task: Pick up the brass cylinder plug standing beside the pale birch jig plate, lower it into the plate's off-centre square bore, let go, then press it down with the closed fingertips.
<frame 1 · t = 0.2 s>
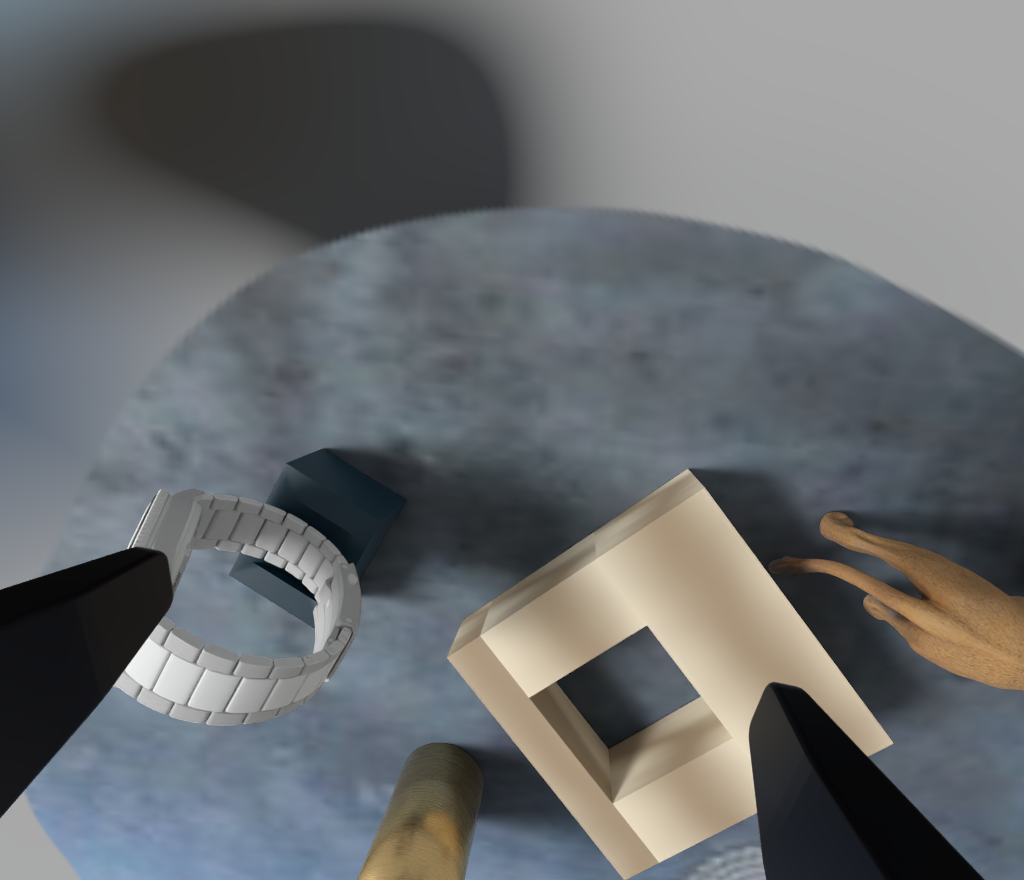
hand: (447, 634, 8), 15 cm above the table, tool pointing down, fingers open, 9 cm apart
watch: (336, 522, 25), on the table
brass cylinder plug: (443, 779, 26), on the table
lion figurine: (966, 569, 22), on the table
jig: (651, 655, 24), on the table
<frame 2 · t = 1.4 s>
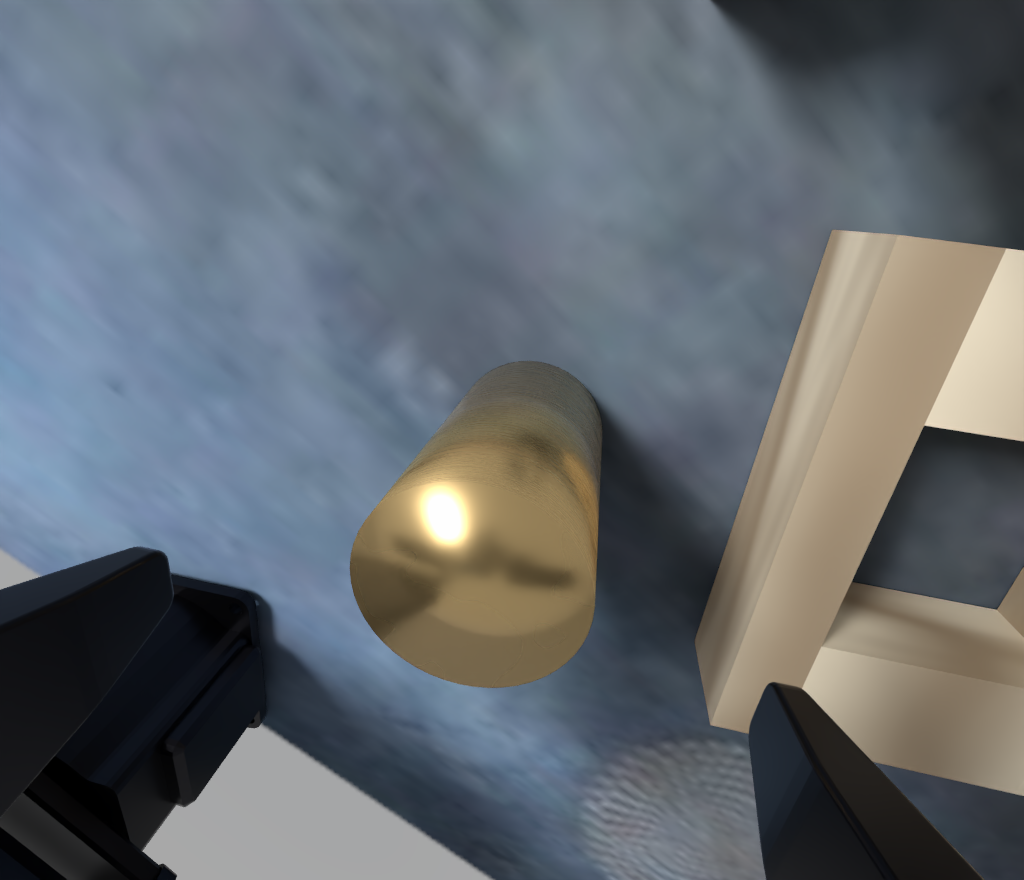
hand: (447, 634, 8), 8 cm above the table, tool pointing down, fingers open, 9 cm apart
brass cylinder plug: (529, 431, 15), on the table
jig: (994, 513, 14), on the table
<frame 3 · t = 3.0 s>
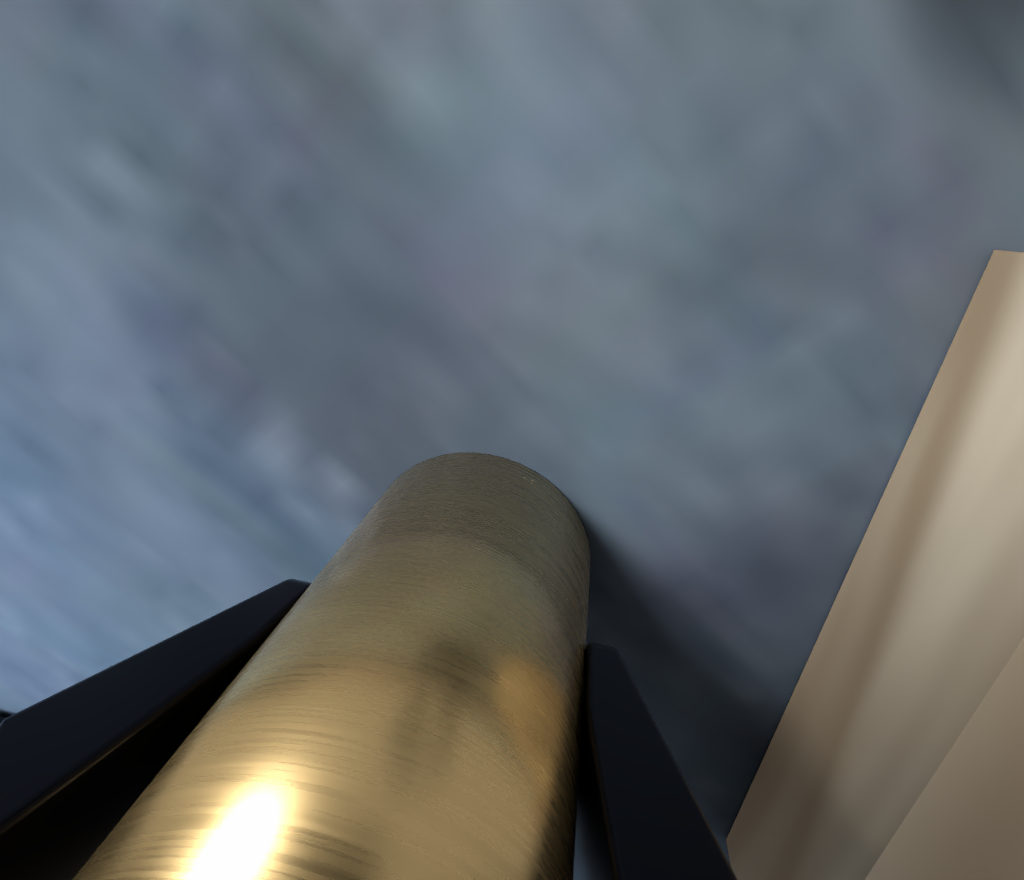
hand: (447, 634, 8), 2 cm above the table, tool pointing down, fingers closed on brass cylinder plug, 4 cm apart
brass cylinder plug: (478, 553, 10), on the table, touching gripper
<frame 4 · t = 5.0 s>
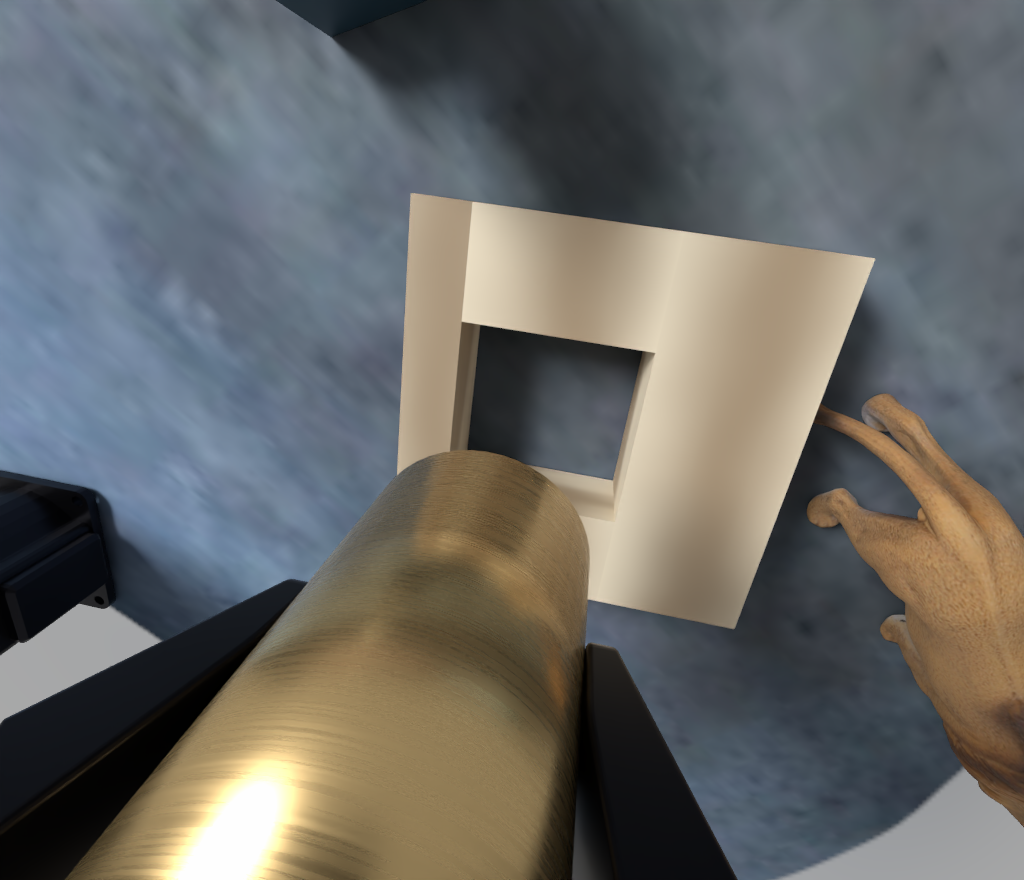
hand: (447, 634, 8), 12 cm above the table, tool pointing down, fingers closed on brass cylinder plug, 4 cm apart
brass cylinder plug: (477, 551, 10), point 10 cm above the table, touching gripper
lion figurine: (910, 542, 19), on the table
jig: (592, 404, 19), on the table
when the fingers open (4 cm above the table, at t = 6.9 s): brass cylinder plug drops 2 cm, resting in jig.
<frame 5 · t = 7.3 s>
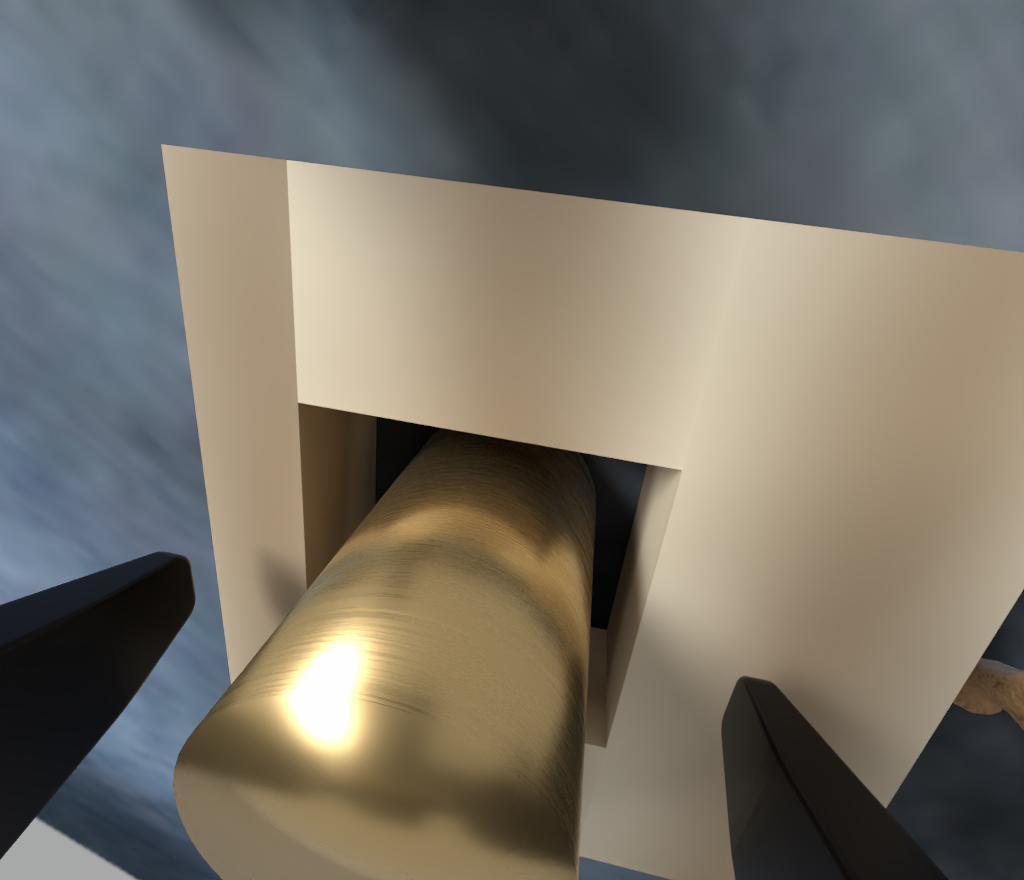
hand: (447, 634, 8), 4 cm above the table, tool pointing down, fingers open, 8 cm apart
brass cylinder plug: (501, 498, 11), resting in jig
jig: (570, 515, 11), on the table
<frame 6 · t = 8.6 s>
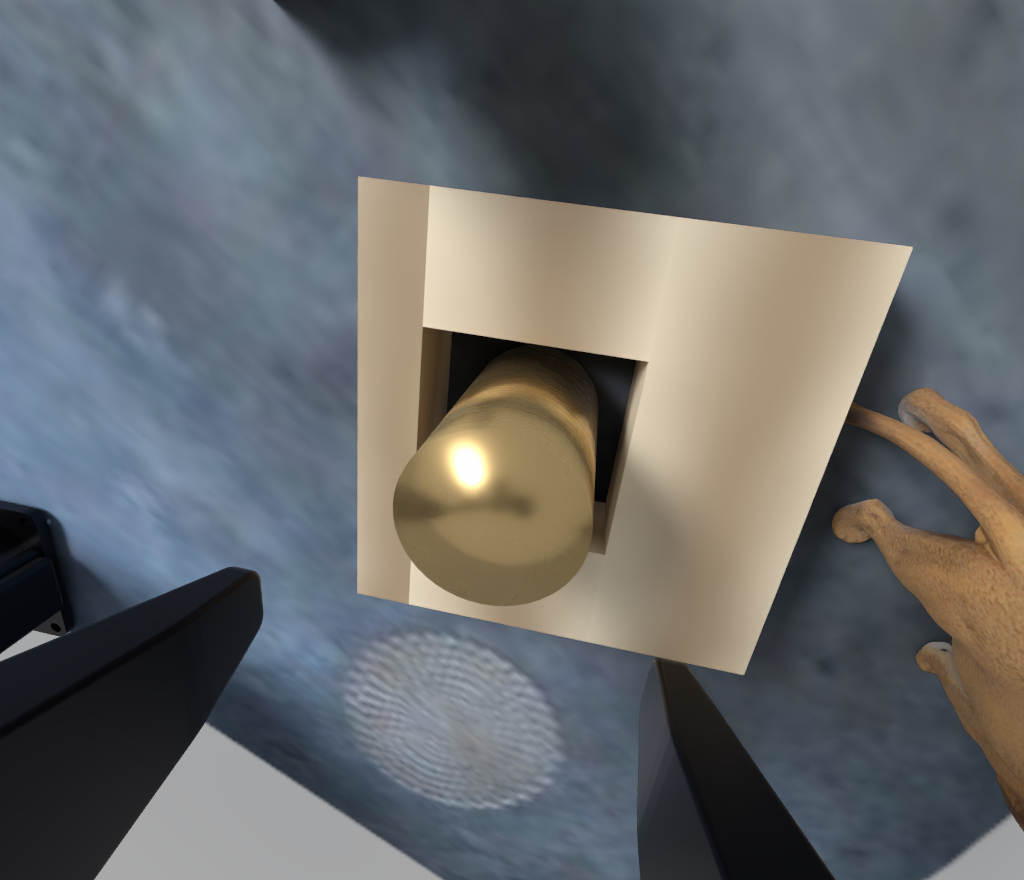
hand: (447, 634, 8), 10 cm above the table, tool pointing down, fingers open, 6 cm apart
brass cylinder plug: (534, 407, 17), resting in jig
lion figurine: (953, 560, 17), on the table, touching jig
jig: (580, 418, 17), on the table
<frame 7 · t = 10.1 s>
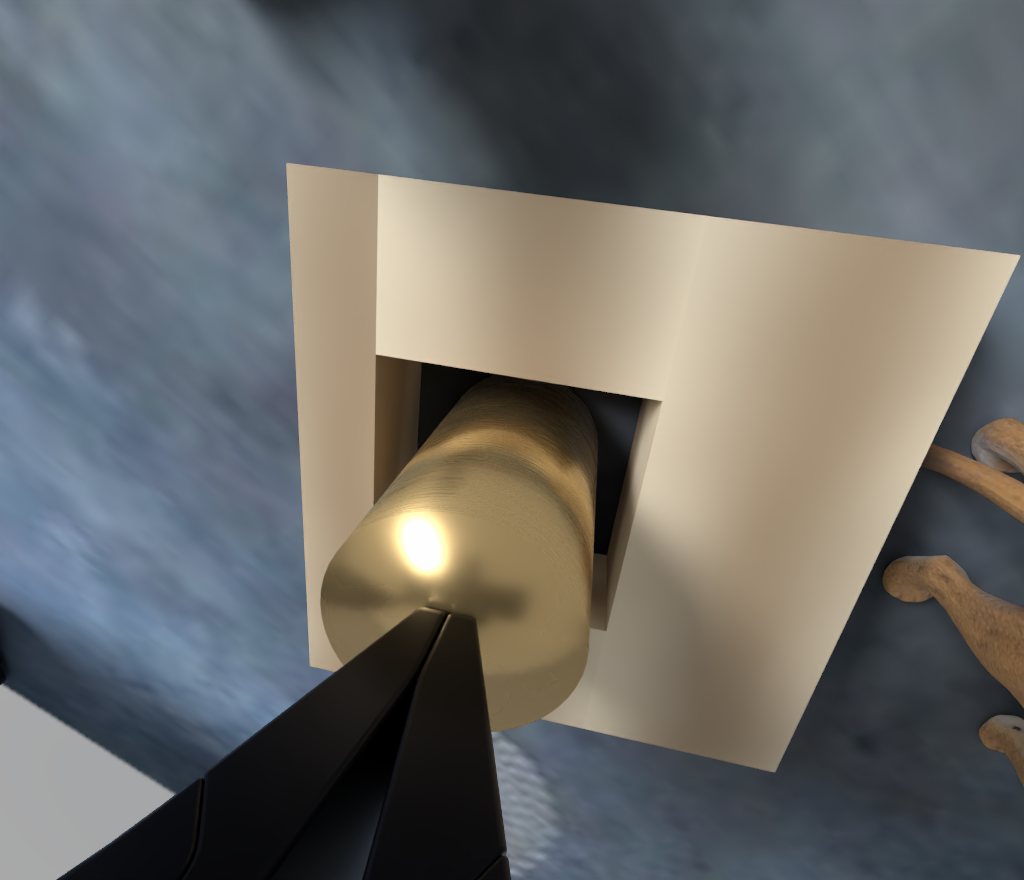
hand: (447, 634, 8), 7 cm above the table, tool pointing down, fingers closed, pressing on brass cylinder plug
brass cylinder plug: (521, 444, 14), resting in jig, touching gripper
jig: (577, 457, 14), on the table
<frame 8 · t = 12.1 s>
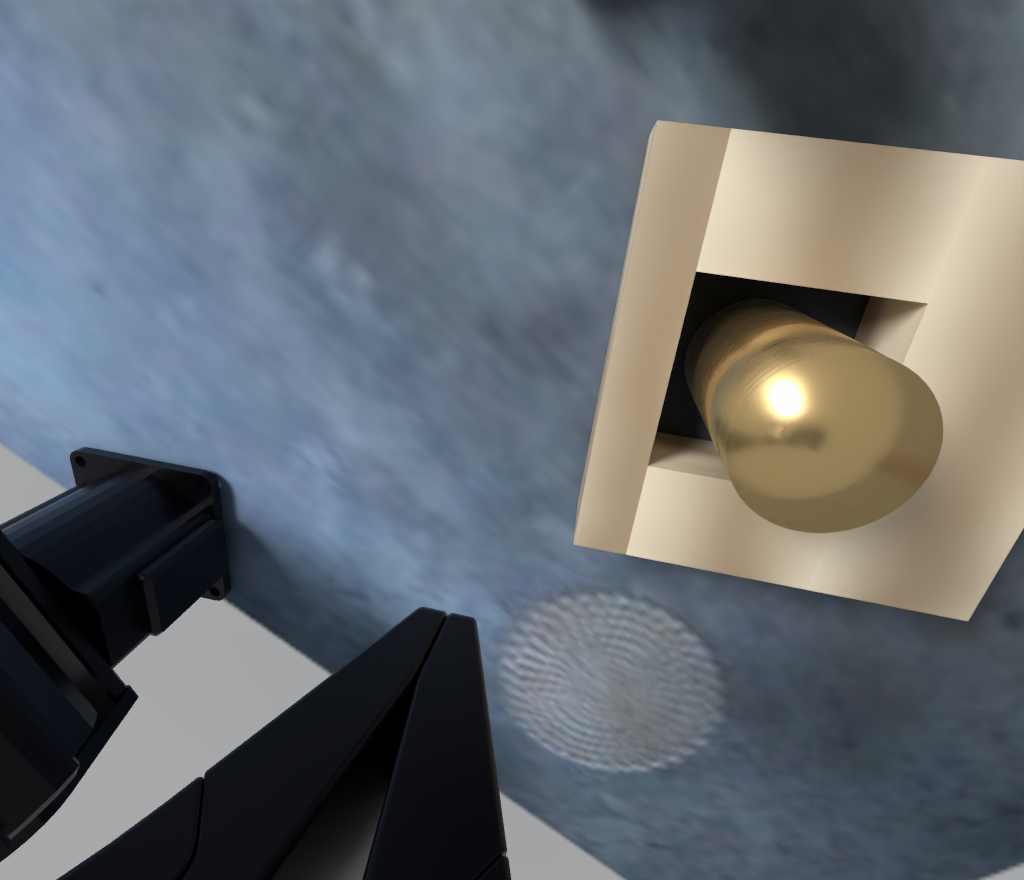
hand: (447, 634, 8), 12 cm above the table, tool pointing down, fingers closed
brass cylinder plug: (748, 362, 17), resting in jig
jig: (796, 372, 17), on the table
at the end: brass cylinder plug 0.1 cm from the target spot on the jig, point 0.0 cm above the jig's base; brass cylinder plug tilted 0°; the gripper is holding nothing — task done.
